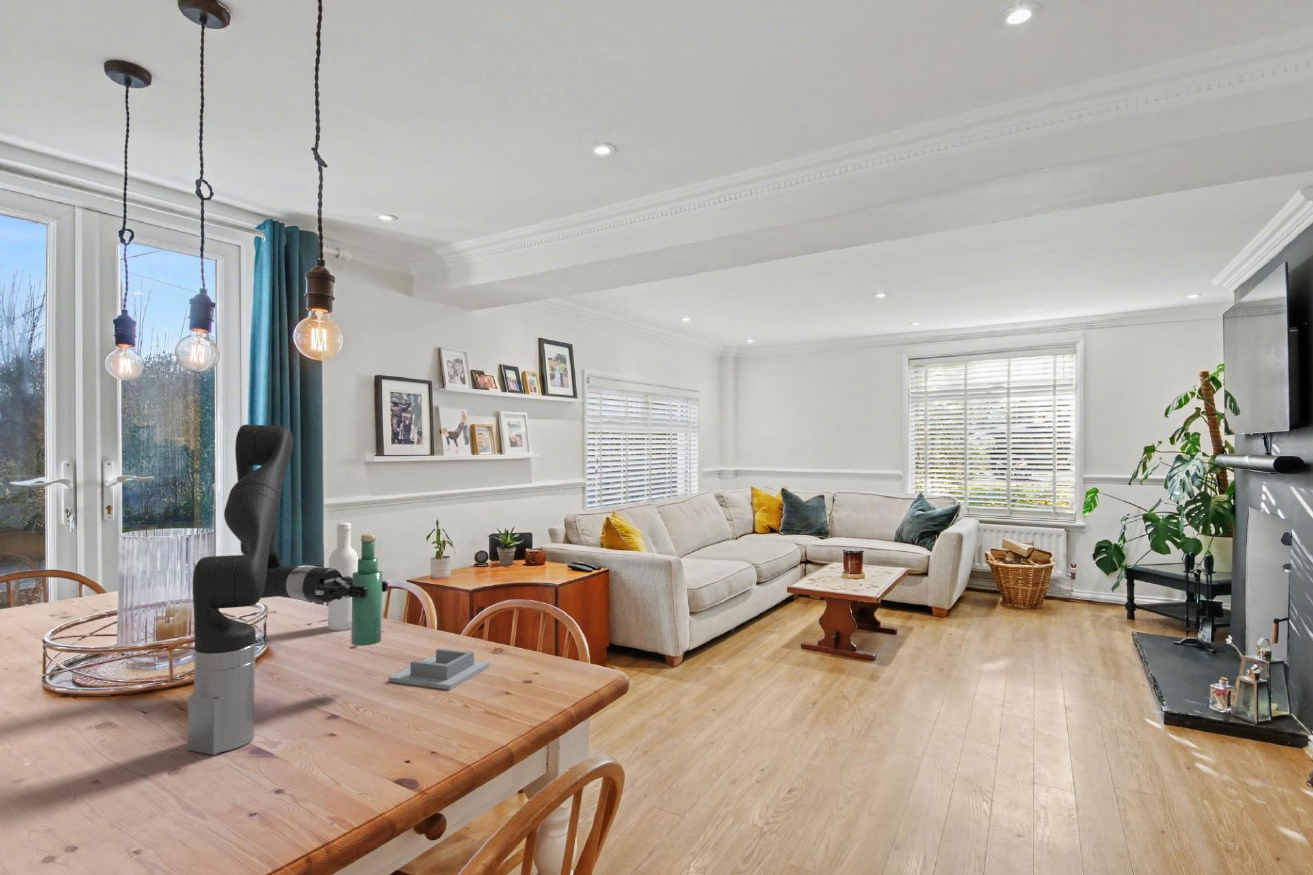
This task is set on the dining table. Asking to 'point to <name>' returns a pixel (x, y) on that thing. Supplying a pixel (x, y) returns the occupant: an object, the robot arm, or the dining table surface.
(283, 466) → the robot arm
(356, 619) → the bottle
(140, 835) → the dining table surface
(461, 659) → the bottle rest
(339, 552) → the bottle
